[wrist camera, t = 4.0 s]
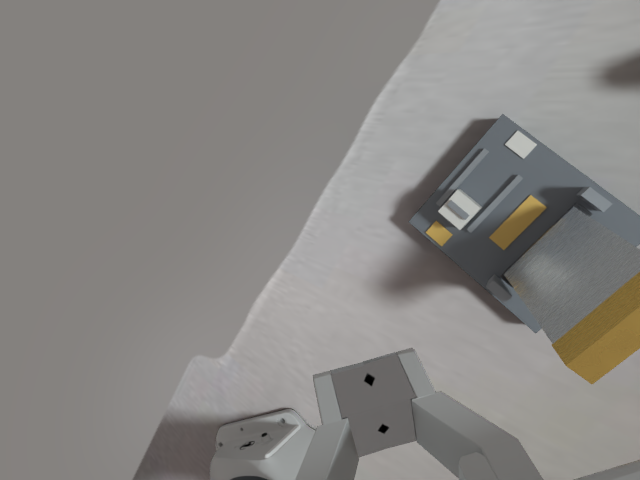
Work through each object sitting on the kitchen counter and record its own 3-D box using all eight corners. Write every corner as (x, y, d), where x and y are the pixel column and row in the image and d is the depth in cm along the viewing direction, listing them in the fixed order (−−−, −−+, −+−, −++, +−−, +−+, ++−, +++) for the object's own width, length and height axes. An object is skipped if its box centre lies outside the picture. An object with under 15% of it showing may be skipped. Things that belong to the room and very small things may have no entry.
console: (648, 226, 42) (669, 232, 37) (534, 325, 48) (537, 344, 42) (503, 118, 47) (501, 108, 41) (414, 220, 52) (401, 223, 46)
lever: (589, 212, 41) (713, 291, 27) (513, 284, 45) (587, 387, 30) (570, 197, 41) (686, 269, 26) (495, 270, 44) (561, 369, 30)
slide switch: (482, 207, 46) (480, 208, 43) (463, 227, 47) (459, 230, 44) (460, 189, 46) (456, 189, 43) (442, 210, 48) (437, 211, 44)
